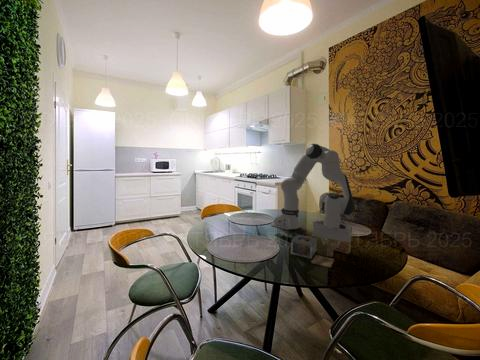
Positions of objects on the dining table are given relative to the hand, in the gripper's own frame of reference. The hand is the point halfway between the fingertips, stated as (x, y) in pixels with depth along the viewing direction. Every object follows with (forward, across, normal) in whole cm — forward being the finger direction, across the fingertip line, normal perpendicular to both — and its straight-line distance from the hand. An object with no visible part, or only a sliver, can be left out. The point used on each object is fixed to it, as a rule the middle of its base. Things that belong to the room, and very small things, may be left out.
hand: (330, 246), depth 132 cm
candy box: (+6, +5, +10) cm, 13 cm away
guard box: (+6, -14, -4) cm, 16 cm away
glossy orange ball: (+2, -14, -4) cm, 15 cm away
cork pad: (+6, -2, -10) cm, 12 cm away
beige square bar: (+6, 0, 0) cm, 6 cm away
